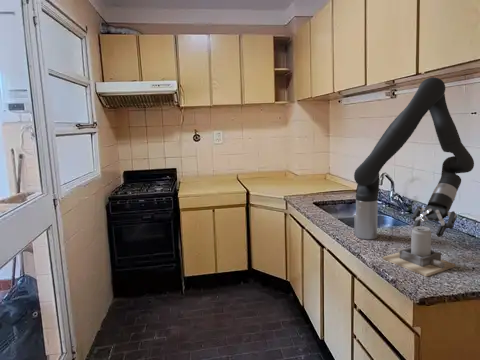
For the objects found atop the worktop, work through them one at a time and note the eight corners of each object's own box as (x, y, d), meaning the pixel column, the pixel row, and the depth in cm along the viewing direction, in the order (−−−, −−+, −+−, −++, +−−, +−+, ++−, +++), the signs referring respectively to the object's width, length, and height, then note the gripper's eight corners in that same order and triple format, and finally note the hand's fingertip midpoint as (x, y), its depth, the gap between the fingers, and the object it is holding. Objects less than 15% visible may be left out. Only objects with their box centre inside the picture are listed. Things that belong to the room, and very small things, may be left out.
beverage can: (408, 260, 128) (409, 228, 126) (414, 255, 133) (415, 224, 131) (427, 264, 124) (428, 232, 122) (432, 259, 128) (433, 227, 126)
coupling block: (383, 259, 133) (383, 249, 132) (410, 251, 139) (411, 241, 139) (426, 276, 117) (426, 265, 116) (455, 266, 123) (455, 256, 123)
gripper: (420, 189, 138) (403, 223, 133) (459, 194, 126) (443, 232, 121) (427, 200, 141) (411, 234, 137) (465, 206, 130) (449, 243, 125)
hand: (426, 233), depth 129 cm, fingers open, 8 cm apart
